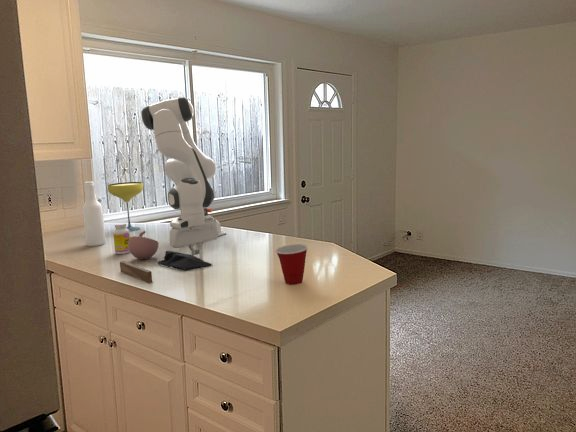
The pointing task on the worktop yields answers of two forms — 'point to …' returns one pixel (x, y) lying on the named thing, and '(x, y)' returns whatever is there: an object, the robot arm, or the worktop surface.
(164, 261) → the dark slate chunk
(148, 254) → the mortar and pestle
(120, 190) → the cocktail glass
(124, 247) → the supplement bottle
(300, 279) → the plastic cup
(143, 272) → the brown wooden bar
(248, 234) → the worktop surface
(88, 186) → the alcohol
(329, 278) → the worktop surface
